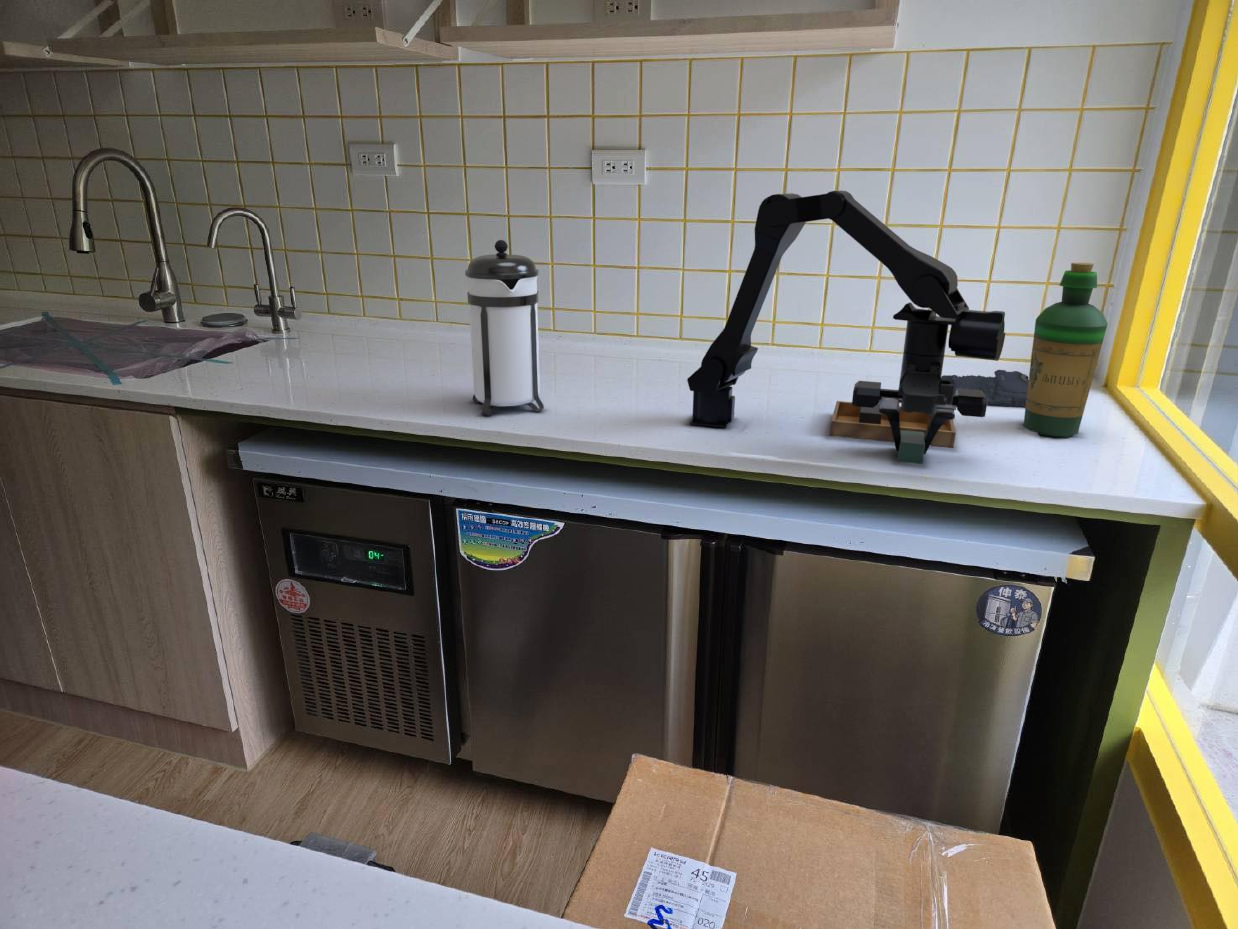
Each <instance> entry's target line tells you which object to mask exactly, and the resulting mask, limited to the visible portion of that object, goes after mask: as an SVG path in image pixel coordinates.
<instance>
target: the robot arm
mask: <svg viewBox="0 0 1238 929" xmlns="http://www.w3.org/2000/svg"><path fill="white" fill-rule="evenodd" d="M828 219H829V220H830V221H832V222H833V223H834V224H836V225H837V226H838V227H839V228H840V229H842V230H843V231H844V232H845V233H846V234H847V235H848V236H850V237H851V238H852V239H853V240H854V241H855V242H856V243H858V244H859V245H860V246H861V247H862V248H864V249H865V250H866V251H867V252H868V253H869V254H871V255H872V256H873V257H874V258H875V259H877V260H878V262H880V263H881V264H883V265H884V266H885V267H886V268H887V269H888V271H889V272H890V273H891V274H892V276H893V278H894V280H895V281H896V283H897V284H898V287H899V288H900V290H902V291H903V293H904V294H905V296H907V298H908V300H910V301H911V302H906V304H904V306H903V307H902V308H901V309H900V310H899V311H897V312H896V313H894V314H893V315H892V319H893V320H895V321H905V322H906V328H905V338H904V344H903V351H902V359H901V360H902V361H901V369H900V376H899V384H898V389H890V388H882V382H881V381H870V380H858V381H856V382H855V384H854V386H853V390H852V399H851V402H852V405H853V406H858V407H869V408H873V407H875V406H876V405H877V404H880V405H879V413H881V414H886V416H887V418H888V420H889V423H890V426H891V429H892V434H893V438H894V442H893V443H894V447H895V452H897V453H898V452H899V445H900V410H899V406H901V409H902V410H903V411H904V412H909V413H911V412H922V413H925V414H931V415H930V419H929V423H928V427H927V431H926V434H925V449H924V455H926V454H927V452H928V450H929V448H930V444H931V442H932V441H933V439H934V437H935V435H936V433H937V432H938V430H939V429H940V427H941V426H942V425H943V423H945V422H946V421H947V420H953V421H954V420H955V418H956V414H955V411H956V410H957V412H958V413H959V414H960V415H961V416H963V417H973V418H984V417H986V414H987V407H988V405H987V400H986V397H985V394H984V393H983V392H982V391H981V390H972V389H959V388H957V390H956V395H954V386H955V381H954V380H944V379H942V380H941V377H942V376H943V375H942V374H943V369H944V368H943V367H944V360H945V352H946V346H947V345H948V346H947V347H948V348H949V349H950V351H951V352H954V356H955V357H961V358H970V359H979V360H987V361H993V362H994V361H995V362H999V360H1000V358H1001V356H1002V352H1003V349H1004V343H1005V340H1006V332H1005V324H1006V322H1005V317H1006V312H1005V311H1004V310H1003V311H1002V310H991V311H986V310H976V309H975V310H974V309H970V307H969V305H968V304H967V302H966V300H965V299H964V297H963V295H962V294H961V292H960V291H959V289H958V285H959V283H958V282H959V281H958V275H957V272H956V271H955V270H954V269H953V268H952V267H951V266H950V265H948V264H946V263H944V262H942V261H941V260H939V259H937V258H935V257H933V256H932V255H930V254H927V253H925V252H923V251H920V250H918V249H916V248H914V247H912V246H911V245H910V244H908V242H906V241H905V240H904V239H903V238H901V237H900V236H899V235H898V234H896V233H895V232H894V231H893V230H892V229H890V228H889V226H887V225H886V224H885V223H883V222H882V221H881V220H880V219H879V218H877V217H876V216H875V215H874V214H873V213H872V212H870V211H869V210H868V209H867V208H865V207H864V206H863V205H862V204H861V203H860V202H859V201H857V200H856V199H855V198H854V196H853V195H852V194H851V193H850V192H849V191H847V190H843V189H842V190H832V191H828V192H827V193H822V194H815V195H807V196H801V195H799V194H797V193H793V192H791V193H790V192H789V193H775V194H771V195H769V196H767V197H765V198H764V199H763V200H762V201H761V203H760V204H759V207H758V210H757V215H756V220H755V225H754V249H753V252H752V254H751V256H750V259H749V262H748V265H747V268H746V270H745V272H744V275H743V278H742V281H741V283H740V286H739V289H738V291H737V294H736V296H735V298H734V301H733V304H732V307H731V310H730V312H729V315H728V317H727V320H726V323H725V325H724V327H723V329H722V330H721V331H720V333H719V334H718V336H717V337H715V340H713V342H712V343H711V344H710V345H709V348H708V349H707V351H706V352H705V354H704V356H703V358H702V359H701V364H700V366H699V368H697V369H696V370H695V371H694V372H693V373H692V374H691V375H690V376H688V377H687V379H686V380H687V385H688V388H689V391H690V392H693V394H692V417H691V419H690V420H689V425H692V426H702V427H710V428H711V427H712V428H721V429H726V428H727V427H728V426H729V425H730V424H731V422H733V420H734V419H735V409H736V408H735V407H736V396H735V395H733V386H735V385H736V384H737V382H738V380H739V377H741V376H743V375H744V374H745V373H746V372H747V371H749V370H751V369H752V362H753V359H754V357H755V355H756V354H757V353H758V350H759V348H758V347H756V346H753V345H752V334H753V330H754V328H755V325H756V323H757V321H758V318H759V316H760V313H761V310H762V308H763V305H764V303H765V301H766V298H767V295H768V293H769V290H770V288H771V285H772V283H773V280H774V279H775V276H776V273H777V270H778V268H779V265H780V263H781V260H782V258H783V256H784V254H785V253H786V252H787V250H788V249H789V248H790V247H791V245H792V244H793V243H794V242H795V241H796V239H797V238H798V236H799V235H800V233H801V232H802V230H803V228H804V226H805V225H806V223H808V222H814V221H816V222H817V221H821V220H822V221H823V220H828ZM914 305H915V306H916V307H915V306H914ZM917 307H918V308H917ZM949 326H950V330H949ZM948 333H949V334H948ZM947 340H948V341H947ZM947 342H948V344H947ZM900 404H901V405H900Z"/></svg>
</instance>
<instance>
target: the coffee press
mask: <svg viewBox="0 0 1238 929" xmlns="http://www.w3.org/2000/svg"><path fill="white" fill-rule="evenodd" d="M508 247H509V246H508V243H507V241H505V240H503V239H499V240H497V241H496V242H495V243H494V249H495V251H496V252H497V253H495V254H485V255H480V256H476V257H474V258H473V259H472V260H471V261H469V263H468V266H467V269H466V270H465V271H464V274H465V275H464V276H465V277H466V279H467V286H468V292H467V294H466V295H467V304H468V305H469V306H468V308H469V321H470V338H471V339H470V342H471V359H472V377H473V390H474V394H473V396H472V401H473V402H474V404H479V403H482V408H481V410H480V411H481V415H482V416H487V417H491V416H492V415H493V413H494V410H495V409H496V408H497V407H517V406H523V405H527V406H529V407H530V408H531V409H532V411H534V412H536V413H538V412H541V411H543V410H544V408H545V406H544V403H543V402H542V400H541V398H540V397H539V396H540V392H541V390H540V348H539V346H540V345H539V314H538V309H539V308H538V303H539V301H540V300H539V299H540V298H539V291H538V277H539V275H540V270H539V269H538V268H537V266H536V264H535V261H533V260H532V259H531V258H529V257H527V256H524V255H520V254H509V253H507V252H506V251H507V250H508ZM534 401H535V403H536V404H537V405H536V404H535V403H533V402H534Z"/></svg>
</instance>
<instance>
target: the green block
mask: <svg viewBox="0 0 1238 929" xmlns="http://www.w3.org/2000/svg"><path fill="white" fill-rule="evenodd" d="M924 449H925V438H924V432H915V431H904V430H901V431H900V445H899V452H897V461H898V462H901V463H910V464H911V463H913V464H923V463H924Z"/></svg>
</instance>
